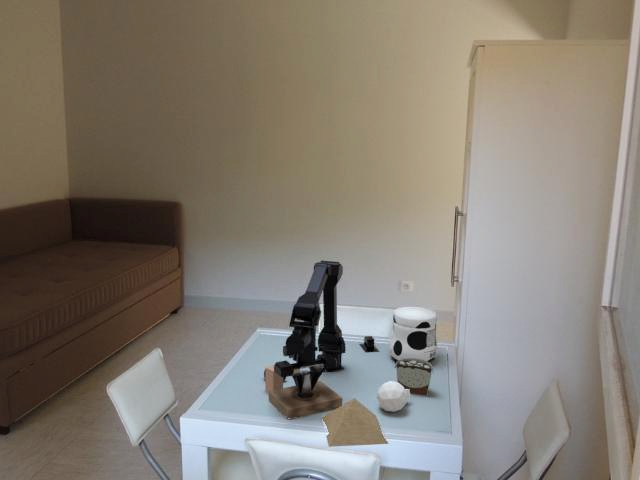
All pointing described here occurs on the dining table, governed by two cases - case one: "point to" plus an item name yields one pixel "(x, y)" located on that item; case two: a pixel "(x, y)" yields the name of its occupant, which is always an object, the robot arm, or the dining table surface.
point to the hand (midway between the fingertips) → (305, 391)
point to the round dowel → (306, 384)
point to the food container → (414, 375)
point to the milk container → (414, 334)
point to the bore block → (304, 400)
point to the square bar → (272, 379)
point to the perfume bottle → (392, 396)
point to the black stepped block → (369, 345)
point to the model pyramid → (353, 426)
